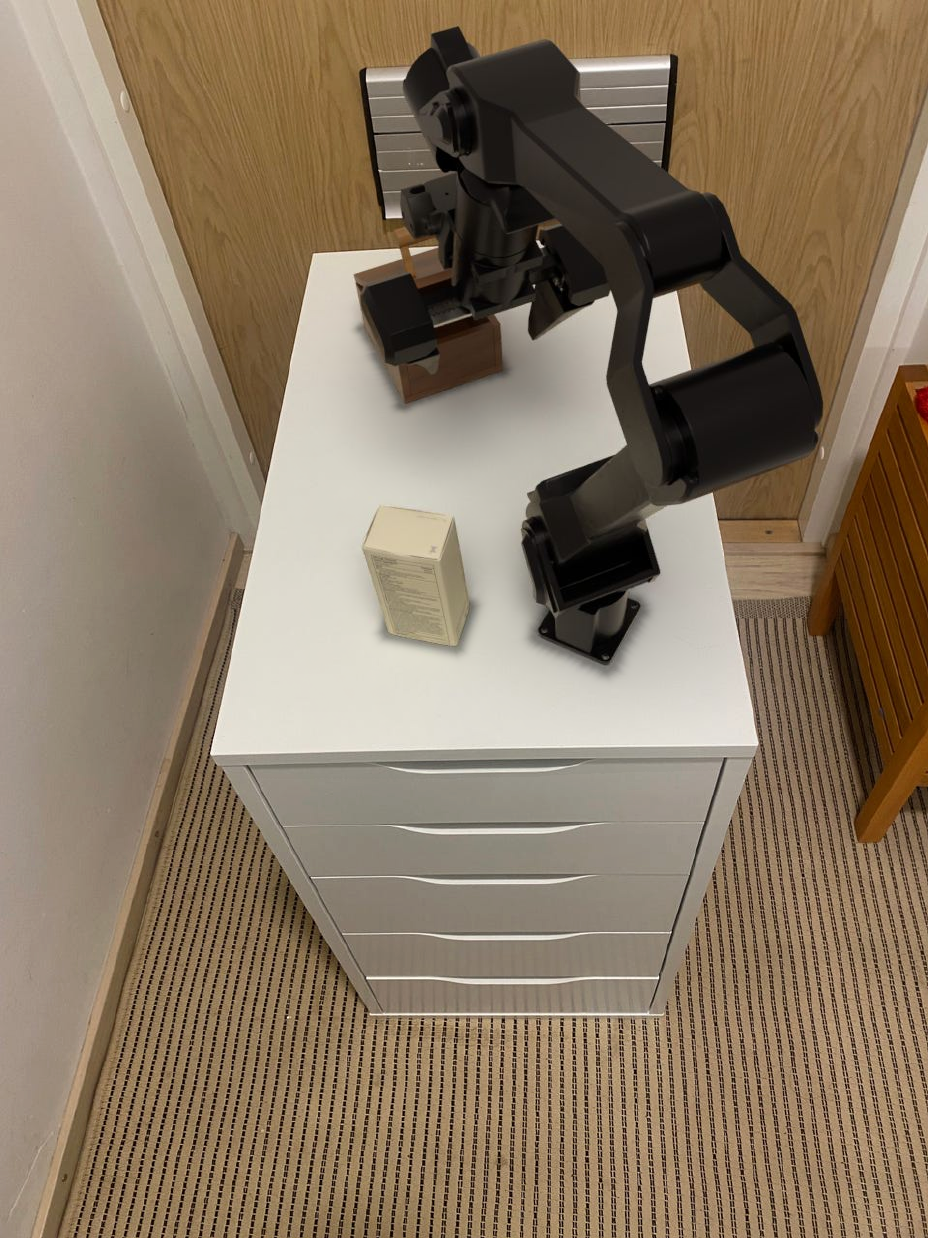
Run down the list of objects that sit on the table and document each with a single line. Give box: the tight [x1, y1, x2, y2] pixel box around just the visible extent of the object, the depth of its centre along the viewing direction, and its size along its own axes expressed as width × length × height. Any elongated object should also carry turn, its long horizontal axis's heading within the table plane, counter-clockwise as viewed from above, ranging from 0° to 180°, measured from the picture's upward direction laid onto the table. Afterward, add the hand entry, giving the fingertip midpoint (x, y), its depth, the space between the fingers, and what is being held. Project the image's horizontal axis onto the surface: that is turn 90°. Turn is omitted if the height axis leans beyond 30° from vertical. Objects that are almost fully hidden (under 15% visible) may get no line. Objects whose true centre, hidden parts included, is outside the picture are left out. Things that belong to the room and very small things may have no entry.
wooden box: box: [355, 278, 504, 404], centre depth 95 cm, size 13×11×6 cm
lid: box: [353, 226, 452, 289], centre depth 89 cm, size 13×11×5 cm
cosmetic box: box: [361, 504, 470, 647], centre depth 74 cm, size 6×4×12 cm
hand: (481, 352), depth 79 cm, fingers open, 9 cm apart
